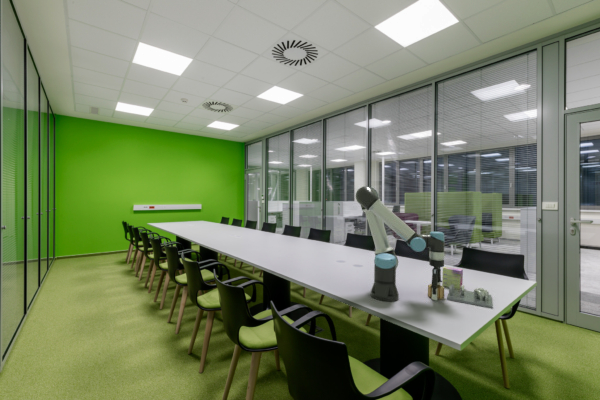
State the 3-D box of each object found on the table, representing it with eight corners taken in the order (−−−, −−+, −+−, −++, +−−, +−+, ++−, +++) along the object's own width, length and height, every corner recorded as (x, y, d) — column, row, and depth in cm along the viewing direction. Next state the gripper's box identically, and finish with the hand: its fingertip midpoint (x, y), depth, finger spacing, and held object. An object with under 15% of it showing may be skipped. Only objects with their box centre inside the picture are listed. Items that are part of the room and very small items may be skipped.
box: (462, 287, 174) (462, 269, 174) (460, 289, 170) (460, 270, 170) (444, 284, 181) (445, 266, 181) (442, 286, 177) (442, 267, 177)
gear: (426, 297, 155) (427, 286, 155) (429, 293, 162) (429, 283, 162) (443, 300, 151) (443, 289, 151) (444, 296, 157) (445, 285, 157)
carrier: (446, 299, 152) (447, 288, 152) (450, 289, 169) (450, 279, 169) (492, 308, 141) (492, 296, 141) (491, 297, 158) (491, 286, 158)
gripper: (441, 263, 144) (440, 304, 144) (446, 256, 164) (445, 292, 164) (425, 261, 148) (425, 301, 148) (432, 254, 169) (432, 289, 169)
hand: (436, 296), depth 156 cm, fingers open, 12 cm apart
